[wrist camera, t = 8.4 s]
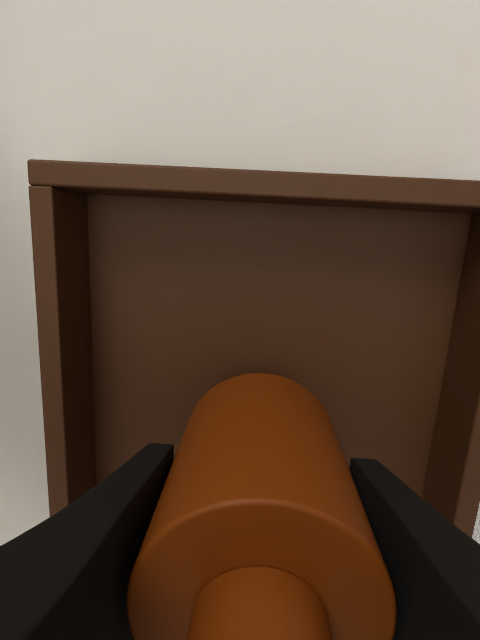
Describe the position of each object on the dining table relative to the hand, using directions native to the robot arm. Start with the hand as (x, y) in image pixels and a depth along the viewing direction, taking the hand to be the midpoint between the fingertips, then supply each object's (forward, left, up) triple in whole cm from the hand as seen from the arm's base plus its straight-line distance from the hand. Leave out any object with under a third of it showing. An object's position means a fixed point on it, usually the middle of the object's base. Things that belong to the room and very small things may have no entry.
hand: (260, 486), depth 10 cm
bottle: (0, 0, -2) cm, 2 cm away
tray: (0, 0, -4) cm, 4 cm away
